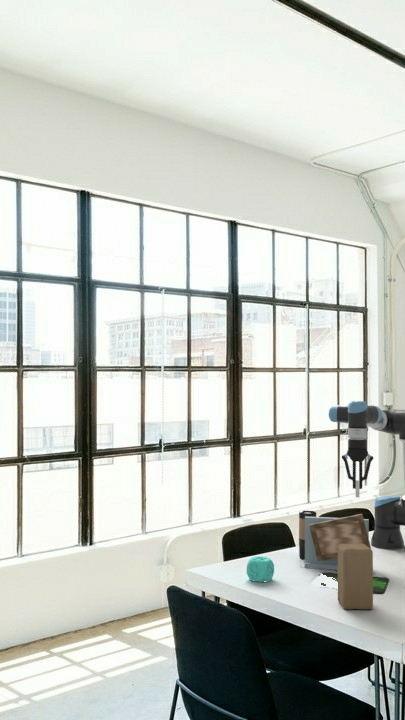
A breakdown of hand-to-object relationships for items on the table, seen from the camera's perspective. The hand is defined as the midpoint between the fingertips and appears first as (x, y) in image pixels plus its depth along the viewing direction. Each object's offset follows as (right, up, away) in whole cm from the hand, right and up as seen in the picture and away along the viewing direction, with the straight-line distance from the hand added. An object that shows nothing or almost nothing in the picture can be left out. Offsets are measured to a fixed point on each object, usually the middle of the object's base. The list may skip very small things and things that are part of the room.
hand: (357, 496), depth 277 cm
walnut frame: (-5, -24, 0) cm, 25 cm away
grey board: (-7, -30, +6) cm, 32 cm away
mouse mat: (-7, -30, -18) cm, 35 cm away
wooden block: (-11, -28, -46) cm, 55 cm away
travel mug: (-17, -31, +20) cm, 41 cm away
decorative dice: (-41, -29, -15) cm, 52 cm away
